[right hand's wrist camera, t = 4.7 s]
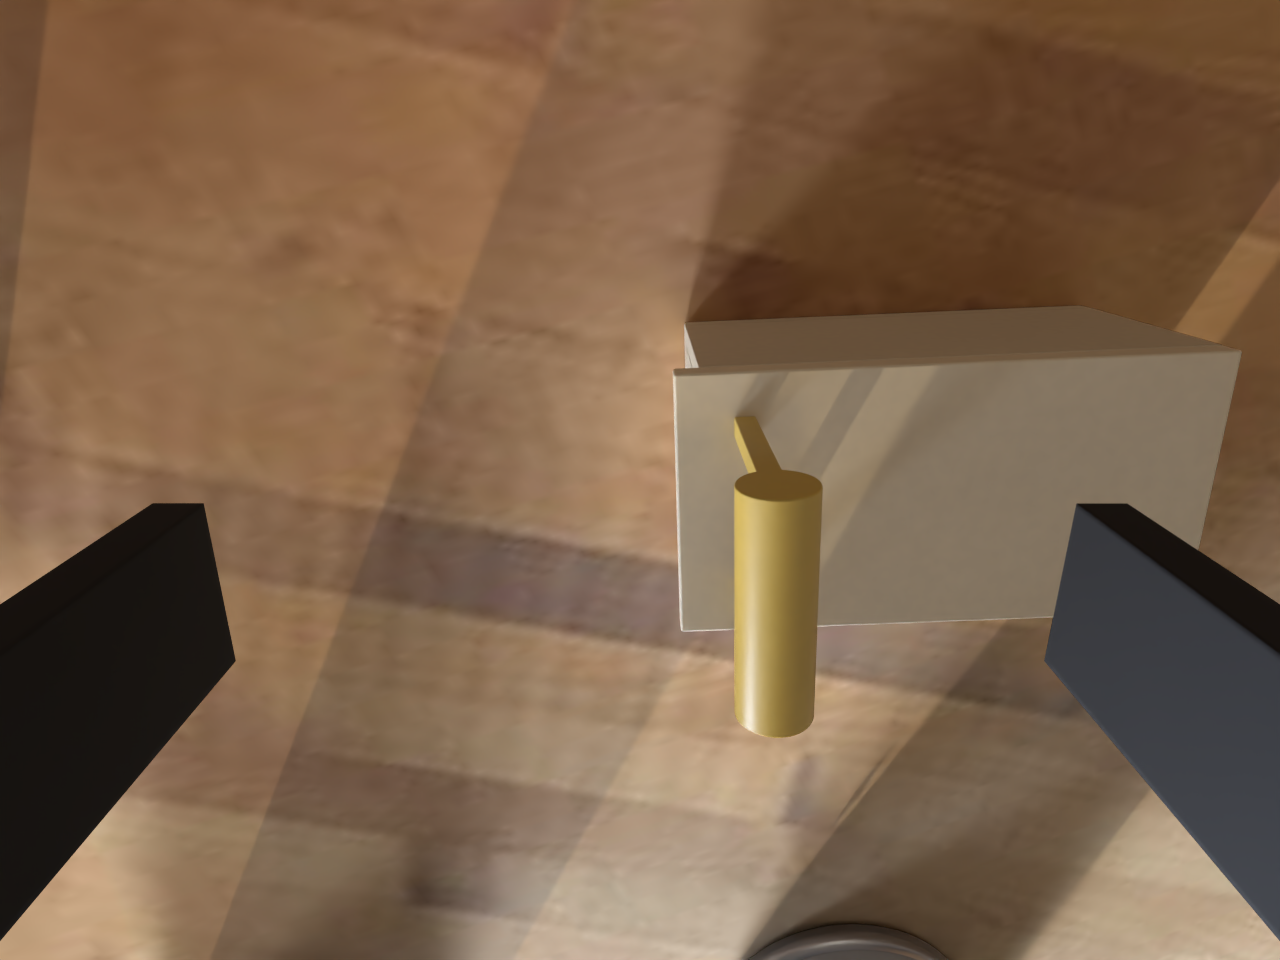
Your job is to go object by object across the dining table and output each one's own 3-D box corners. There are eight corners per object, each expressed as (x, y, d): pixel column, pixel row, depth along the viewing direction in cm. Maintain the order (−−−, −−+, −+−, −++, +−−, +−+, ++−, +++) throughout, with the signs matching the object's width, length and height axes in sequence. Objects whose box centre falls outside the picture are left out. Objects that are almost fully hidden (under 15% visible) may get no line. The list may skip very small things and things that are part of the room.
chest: (688, 522, 38) (702, 618, 30) (684, 321, 35) (698, 366, 27) (1052, 507, 38) (1169, 600, 30) (1082, 305, 35) (1224, 344, 26)
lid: (679, 619, 30) (695, 782, 22) (672, 368, 26) (687, 450, 18) (1170, 601, 30) (1368, 758, 22) (1224, 344, 26) (1482, 417, 18)
